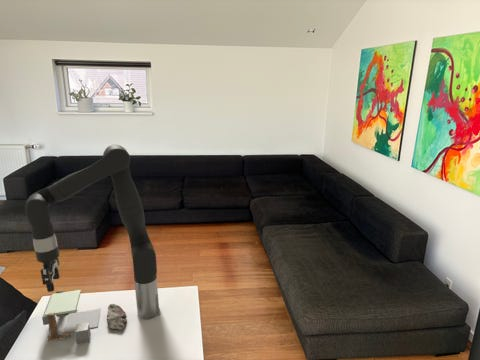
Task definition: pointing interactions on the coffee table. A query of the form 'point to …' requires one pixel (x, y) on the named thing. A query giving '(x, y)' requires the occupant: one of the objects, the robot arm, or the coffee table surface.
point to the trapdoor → (61, 304)
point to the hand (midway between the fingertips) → (54, 284)
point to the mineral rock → (116, 317)
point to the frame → (55, 325)
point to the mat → (82, 319)
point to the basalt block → (82, 333)
